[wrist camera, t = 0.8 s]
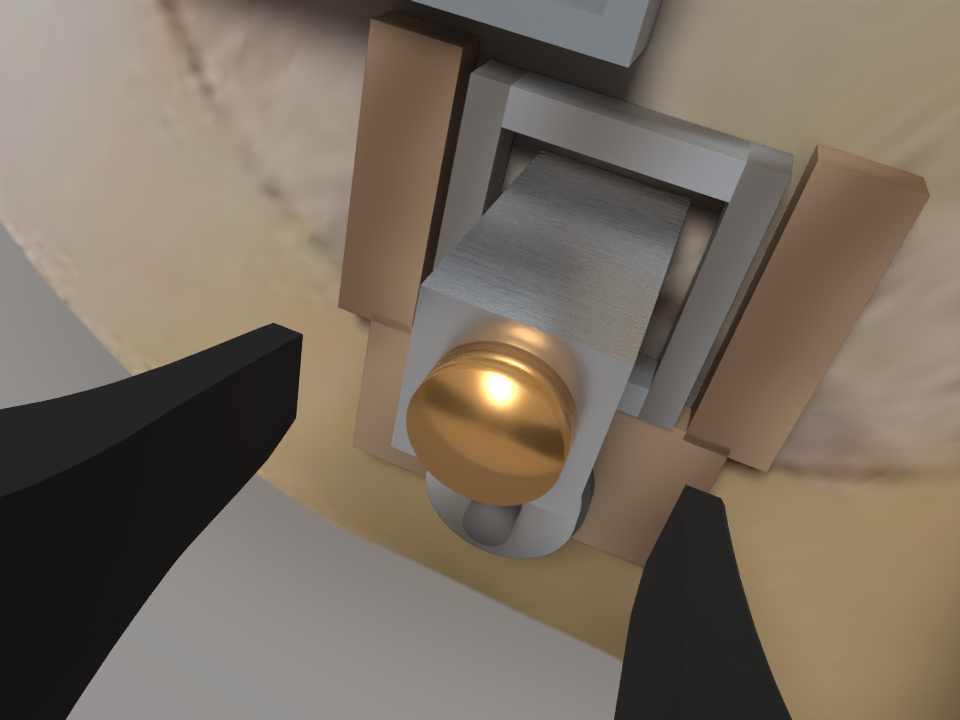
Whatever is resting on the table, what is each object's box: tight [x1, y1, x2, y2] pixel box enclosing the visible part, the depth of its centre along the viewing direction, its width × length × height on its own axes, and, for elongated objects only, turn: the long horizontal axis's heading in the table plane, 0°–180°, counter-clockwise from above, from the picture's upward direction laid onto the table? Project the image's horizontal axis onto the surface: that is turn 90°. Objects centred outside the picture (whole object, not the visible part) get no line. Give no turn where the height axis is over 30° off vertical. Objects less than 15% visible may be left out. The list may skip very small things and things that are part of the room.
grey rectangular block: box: [391, 150, 691, 520], centre depth 18 cm, size 4×4×9 cm
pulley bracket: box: [338, 11, 930, 568], centre depth 21 cm, size 13×14×4 cm
